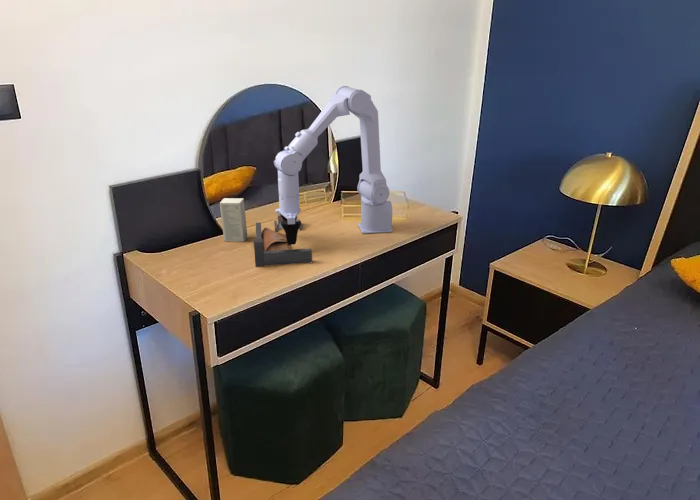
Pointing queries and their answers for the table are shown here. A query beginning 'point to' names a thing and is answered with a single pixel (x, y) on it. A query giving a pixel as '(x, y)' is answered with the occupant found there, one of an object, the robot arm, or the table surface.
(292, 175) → the robot arm
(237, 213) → the skincare box
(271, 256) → the press frame
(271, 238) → the sunglasses case
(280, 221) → the silver metal block
